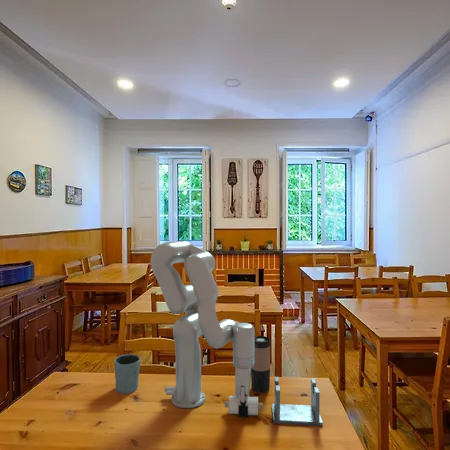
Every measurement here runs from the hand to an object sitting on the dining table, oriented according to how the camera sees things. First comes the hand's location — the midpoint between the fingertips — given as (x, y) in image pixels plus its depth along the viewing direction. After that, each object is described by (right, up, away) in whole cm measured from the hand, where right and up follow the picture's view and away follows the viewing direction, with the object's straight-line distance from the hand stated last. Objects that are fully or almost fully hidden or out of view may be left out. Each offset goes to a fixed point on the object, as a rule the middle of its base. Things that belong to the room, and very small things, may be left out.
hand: (243, 410), depth 118 cm
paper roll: (0, -1, 0) cm, 1 cm away
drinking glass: (-45, -1, +17) cm, 49 cm away
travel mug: (+8, -1, +17) cm, 19 cm away
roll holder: (+18, -1, -2) cm, 18 cm away
